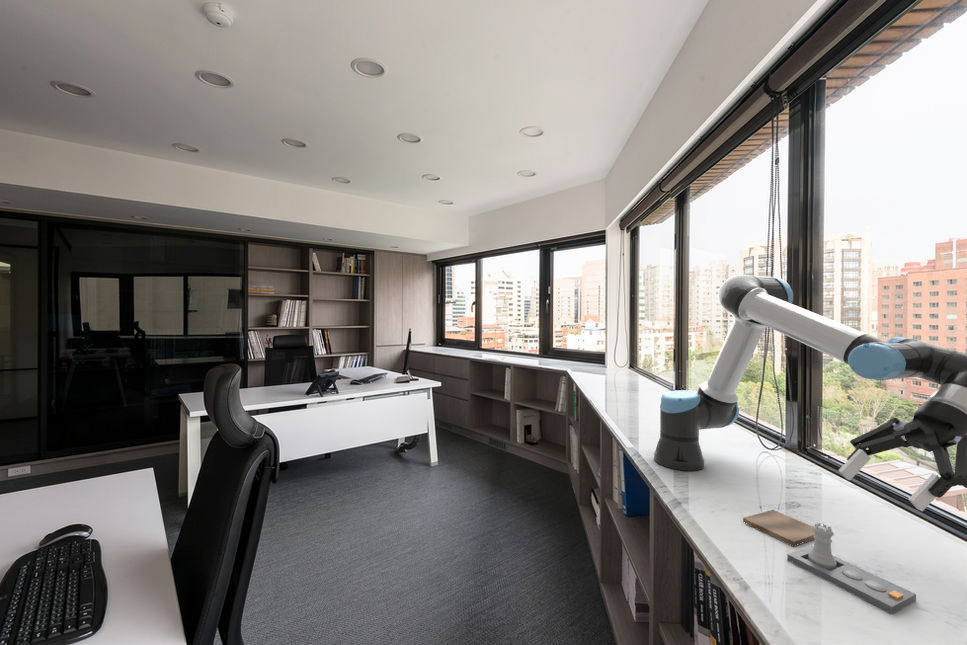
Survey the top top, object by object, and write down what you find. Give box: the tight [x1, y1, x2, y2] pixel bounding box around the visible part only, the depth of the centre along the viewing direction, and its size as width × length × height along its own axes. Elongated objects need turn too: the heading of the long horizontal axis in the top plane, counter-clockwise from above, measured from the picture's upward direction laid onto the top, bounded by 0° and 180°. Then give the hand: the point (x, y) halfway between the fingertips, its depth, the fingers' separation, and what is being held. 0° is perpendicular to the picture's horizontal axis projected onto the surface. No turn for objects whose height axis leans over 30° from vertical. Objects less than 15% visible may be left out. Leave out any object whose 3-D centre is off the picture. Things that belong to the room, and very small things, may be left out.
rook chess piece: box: [808, 522, 837, 571], centre depth 80 cm, size 4×4×8 cm
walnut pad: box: [742, 509, 815, 547], centre depth 94 cm, size 11×11×1 cm
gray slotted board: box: [786, 545, 917, 615], centre depth 76 cm, size 16×8×2 cm, turn 23°
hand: (876, 489), depth 80 cm, fingers open, 13 cm apart
